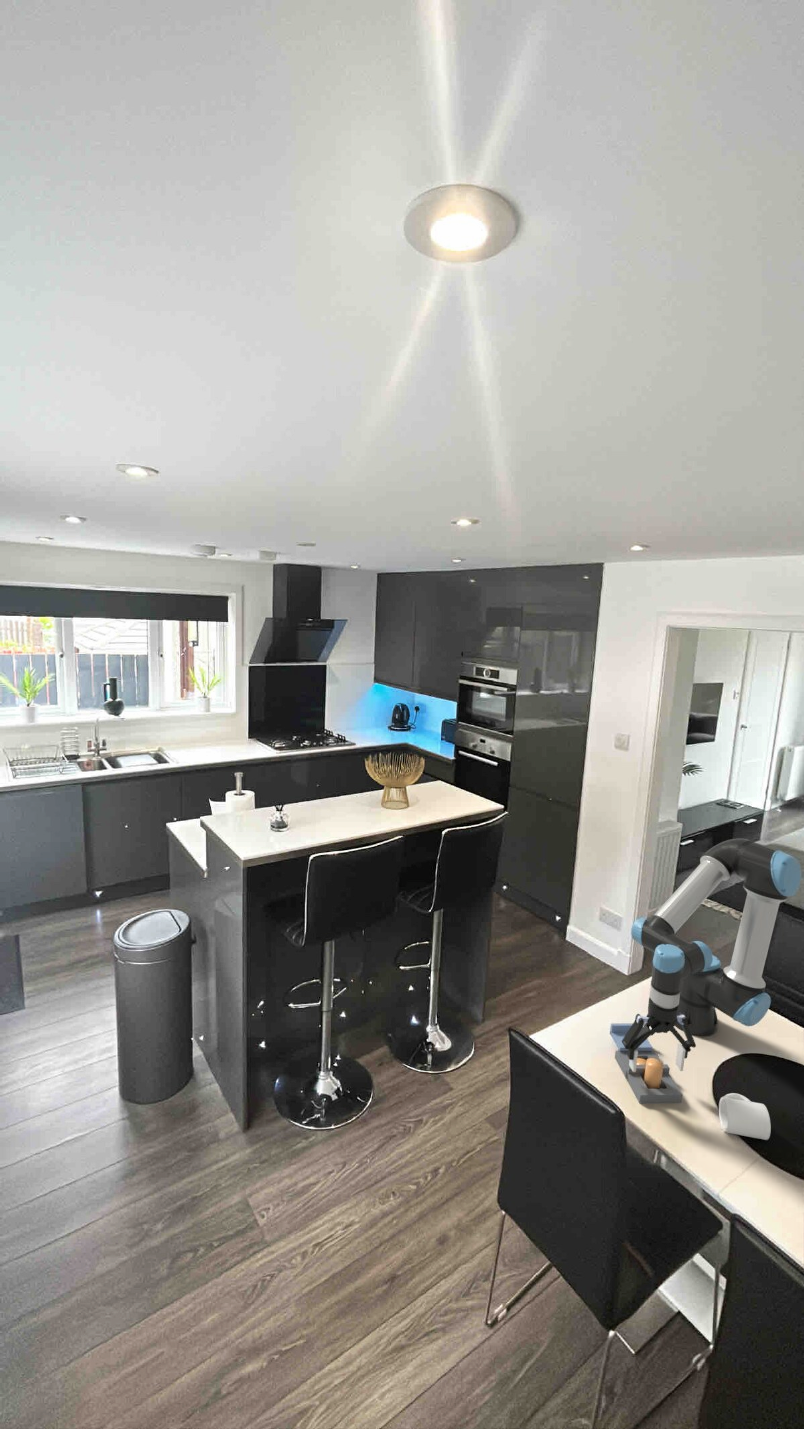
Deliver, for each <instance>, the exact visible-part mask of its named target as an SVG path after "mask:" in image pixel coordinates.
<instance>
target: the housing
mask: <svg viewBox="0 0 804 1429" xmlns="http://www.w3.org/2000/svg"><path fill="white" fill-rule="evenodd" d="M614 1053H615V1054H614V1059H615V1061H616V1063H617V1065H618V1067H619V1068H620V1070H621V1072H622V1074H623V1075H624V1077H625V1080H626V1081H627V1083H628V1085H629V1087H630V1088H631V1091H632V1092H633V1094H634V1096H635V1098H636V1099H637V1102H638V1103H639V1104H653V1103H654V1104H656V1103H657V1104H665V1103H666V1104H669V1103H670V1104H672V1103H674V1104H675V1103H680V1104H682V1101H683V1096H684V1095H683V1092H682V1091H681V1089H679V1087H678V1085H677V1083H676V1082H675V1080H674V1079H673V1077H672V1075H671V1074H670V1066H669V1065H668V1064H667V1063H666V1064H664V1063H663V1062H662V1060H661V1058H660V1057H659V1056H658V1054H657V1052H656V1050H654V1049H652V1051H638V1056H637V1065H636V1072H633V1071H632V1069H631V1067H630V1066H629V1061H630V1059H629V1057H628V1055H627V1053H628V1051H619V1050H615V1052H614ZM649 1058H655V1059H657V1060H659V1061H660V1062H661V1063H662V1064H663V1072H662V1079H661V1086H660V1089H648V1088H647V1086H646V1084H645V1083H644V1076H645V1068H646V1061H647V1059H649Z"/></svg>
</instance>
